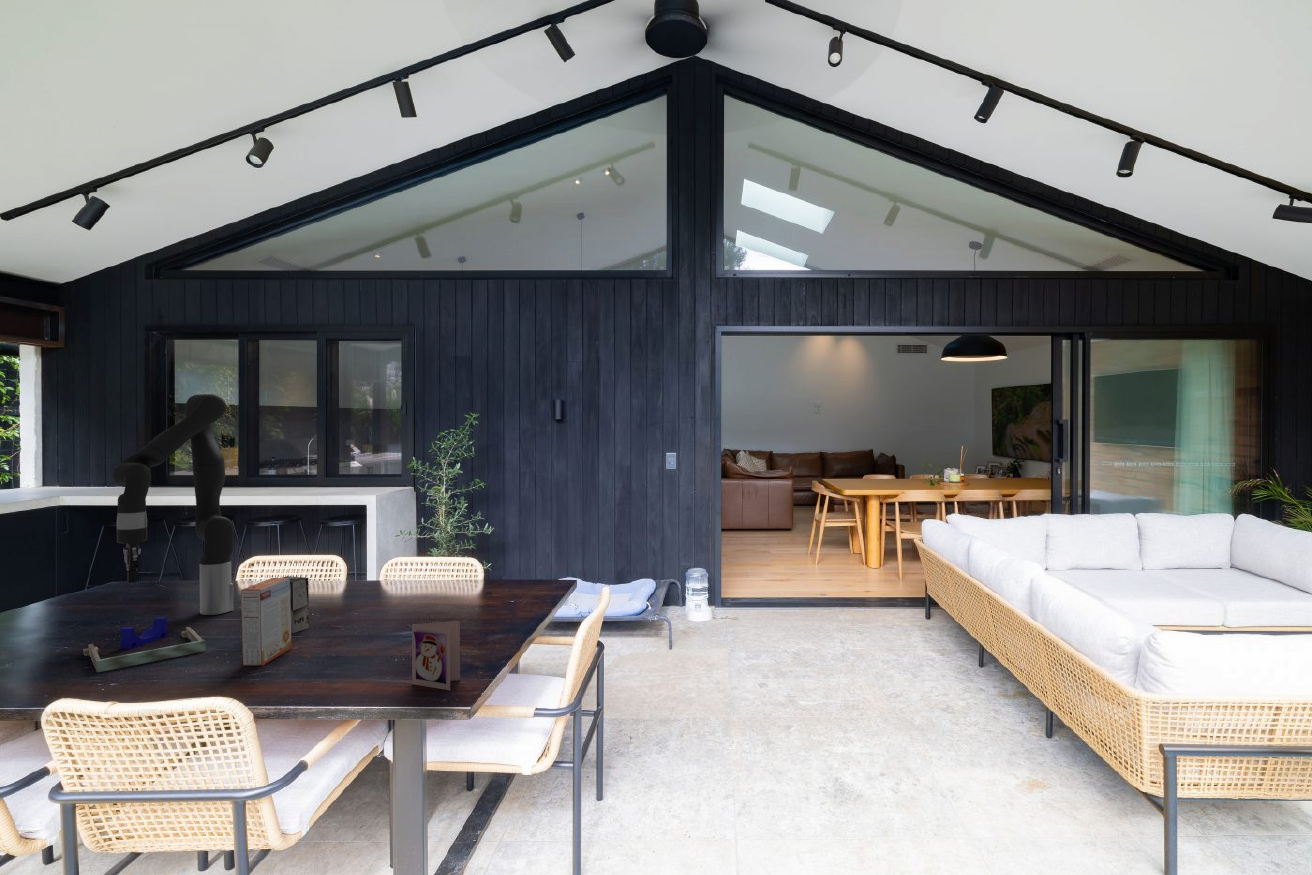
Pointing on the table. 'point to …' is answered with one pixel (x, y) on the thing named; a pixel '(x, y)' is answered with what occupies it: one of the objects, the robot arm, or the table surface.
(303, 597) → the coffee box
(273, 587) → the cracker box
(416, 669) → the greeting card
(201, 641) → the grey-green open frame
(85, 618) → the table surface
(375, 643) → the table surface
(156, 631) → the blue notched block
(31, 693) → the table surface
